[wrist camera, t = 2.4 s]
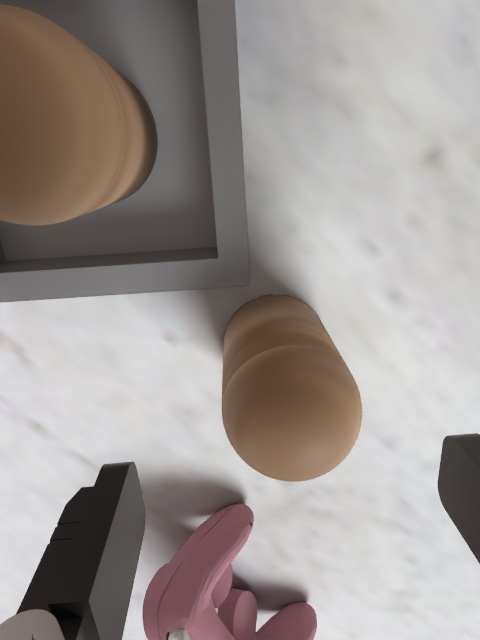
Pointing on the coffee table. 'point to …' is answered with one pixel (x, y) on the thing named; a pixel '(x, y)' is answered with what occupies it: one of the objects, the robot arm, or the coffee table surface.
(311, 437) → the brown rounded oblong
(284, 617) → the video game controller
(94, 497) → the robot arm
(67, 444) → the coffee table surface
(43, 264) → the egg carton
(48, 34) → the seated egg
